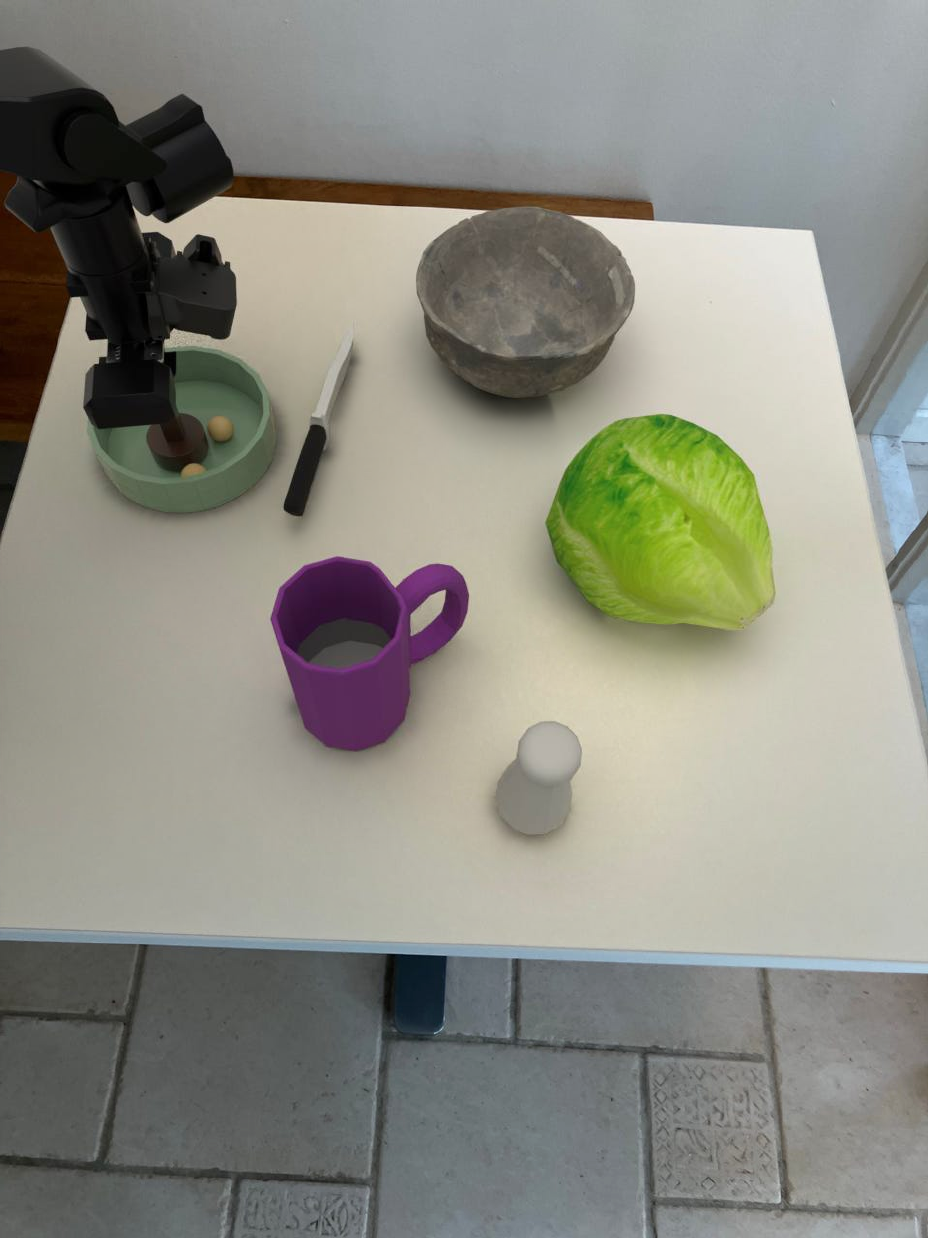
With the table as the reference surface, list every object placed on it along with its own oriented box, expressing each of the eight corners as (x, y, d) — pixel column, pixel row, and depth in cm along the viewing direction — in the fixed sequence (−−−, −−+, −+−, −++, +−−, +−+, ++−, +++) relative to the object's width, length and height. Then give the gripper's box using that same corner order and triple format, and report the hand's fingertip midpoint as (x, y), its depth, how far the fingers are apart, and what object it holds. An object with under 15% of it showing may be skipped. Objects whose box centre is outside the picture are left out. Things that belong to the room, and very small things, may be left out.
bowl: (467, 262, 98) (472, 180, 89) (642, 324, 94) (665, 244, 86) (381, 389, 89) (376, 310, 80) (572, 462, 85) (589, 388, 76)
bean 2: (202, 433, 82) (226, 426, 81) (202, 414, 83) (226, 407, 83) (214, 449, 84) (238, 443, 84) (214, 430, 85) (237, 423, 85)
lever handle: (151, 472, 81) (114, 388, 72) (152, 429, 84) (116, 341, 74) (208, 467, 82) (180, 383, 72) (208, 424, 84) (180, 337, 75)
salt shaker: (481, 824, 68) (493, 769, 56) (508, 758, 71) (524, 693, 59) (553, 854, 67) (579, 803, 56) (577, 786, 70) (607, 725, 58)
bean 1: (175, 485, 81) (186, 492, 79) (177, 459, 80) (188, 466, 78) (200, 486, 82) (211, 493, 81) (203, 461, 82) (214, 467, 80)
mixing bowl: (98, 521, 80) (81, 490, 76) (107, 386, 87) (92, 352, 83) (280, 504, 81) (272, 474, 77) (273, 373, 89) (265, 340, 85)
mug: (276, 688, 73) (243, 597, 59) (430, 594, 77) (432, 491, 64) (336, 776, 69) (316, 700, 56) (494, 672, 74) (509, 579, 61)
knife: (346, 338, 92) (343, 300, 87) (363, 340, 92) (360, 302, 87) (285, 536, 80) (277, 503, 75) (305, 539, 80) (298, 506, 75)
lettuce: (657, 709, 75) (705, 656, 61) (503, 543, 81) (515, 459, 66) (790, 594, 79) (865, 518, 65) (635, 442, 84) (673, 342, 70)
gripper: (220, 334, 60) (258, 477, 73) (216, 160, 68) (251, 316, 82) (49, 347, 59) (120, 489, 72) (67, 168, 67) (128, 326, 81)
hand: (161, 400), depth 77 cm, fingers closed on lever handle
